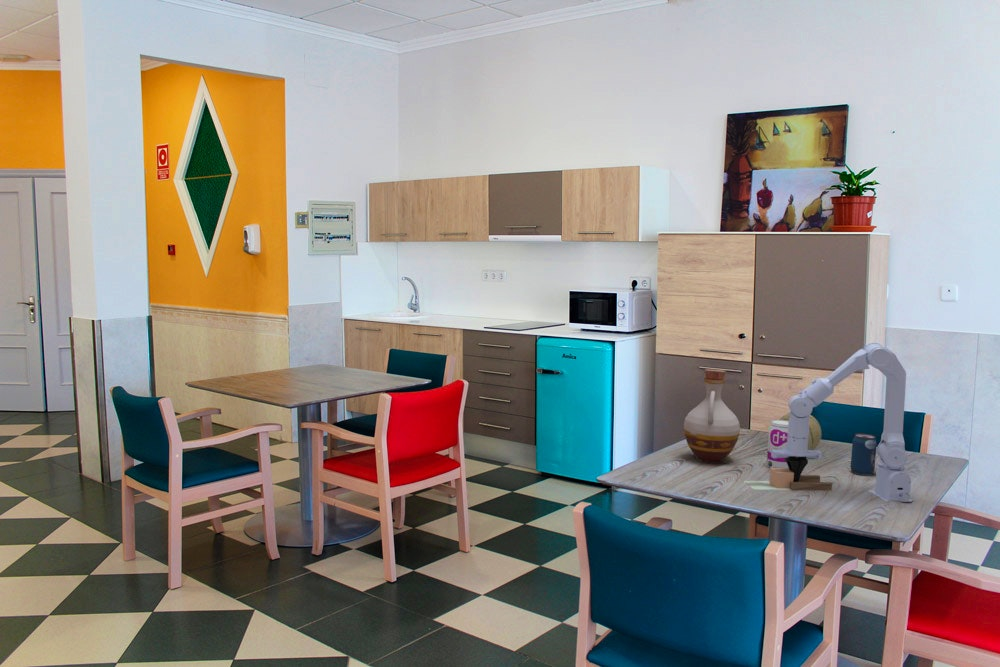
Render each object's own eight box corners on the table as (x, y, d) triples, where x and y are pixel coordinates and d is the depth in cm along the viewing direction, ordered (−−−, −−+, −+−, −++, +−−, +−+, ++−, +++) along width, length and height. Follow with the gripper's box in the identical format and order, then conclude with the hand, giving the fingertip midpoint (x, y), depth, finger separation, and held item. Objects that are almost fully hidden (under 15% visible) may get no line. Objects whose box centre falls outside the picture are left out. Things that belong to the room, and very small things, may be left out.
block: (792, 488, 234) (794, 473, 233) (776, 487, 233) (777, 472, 233) (785, 482, 239) (786, 468, 238) (769, 482, 238) (770, 467, 238)
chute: (831, 492, 233) (832, 483, 232) (754, 491, 231) (754, 482, 231) (817, 483, 241) (818, 475, 241) (743, 482, 240) (743, 474, 239)
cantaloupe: (826, 453, 277) (829, 411, 275) (810, 461, 266) (813, 417, 264) (784, 445, 287) (787, 404, 285) (767, 453, 276) (770, 410, 274)
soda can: (876, 476, 250) (879, 439, 249) (852, 474, 252) (855, 437, 250) (871, 470, 257) (874, 434, 256) (848, 468, 258) (850, 432, 257)
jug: (736, 471, 252) (742, 376, 249) (678, 464, 258) (683, 372, 254) (738, 456, 270) (744, 367, 267) (684, 450, 276) (689, 363, 273)
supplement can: (787, 473, 251) (790, 426, 249) (762, 468, 256) (765, 422, 255) (797, 468, 257) (801, 422, 255) (773, 463, 262) (776, 418, 261)
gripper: (815, 433, 239) (812, 478, 241) (768, 432, 238) (765, 477, 240) (826, 439, 232) (823, 485, 234) (778, 438, 231) (774, 484, 233)
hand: (794, 481), depth 236 cm, fingers closed
